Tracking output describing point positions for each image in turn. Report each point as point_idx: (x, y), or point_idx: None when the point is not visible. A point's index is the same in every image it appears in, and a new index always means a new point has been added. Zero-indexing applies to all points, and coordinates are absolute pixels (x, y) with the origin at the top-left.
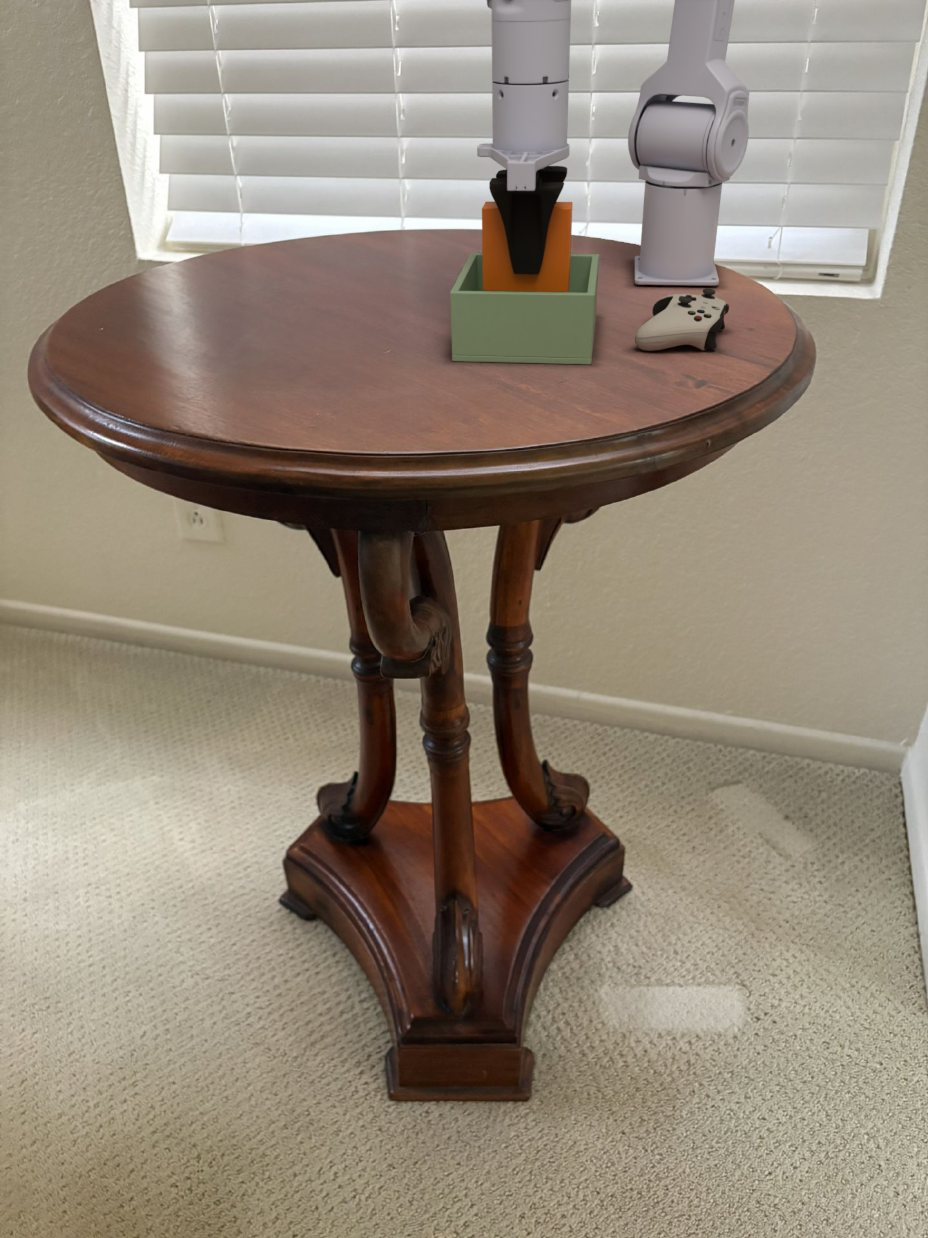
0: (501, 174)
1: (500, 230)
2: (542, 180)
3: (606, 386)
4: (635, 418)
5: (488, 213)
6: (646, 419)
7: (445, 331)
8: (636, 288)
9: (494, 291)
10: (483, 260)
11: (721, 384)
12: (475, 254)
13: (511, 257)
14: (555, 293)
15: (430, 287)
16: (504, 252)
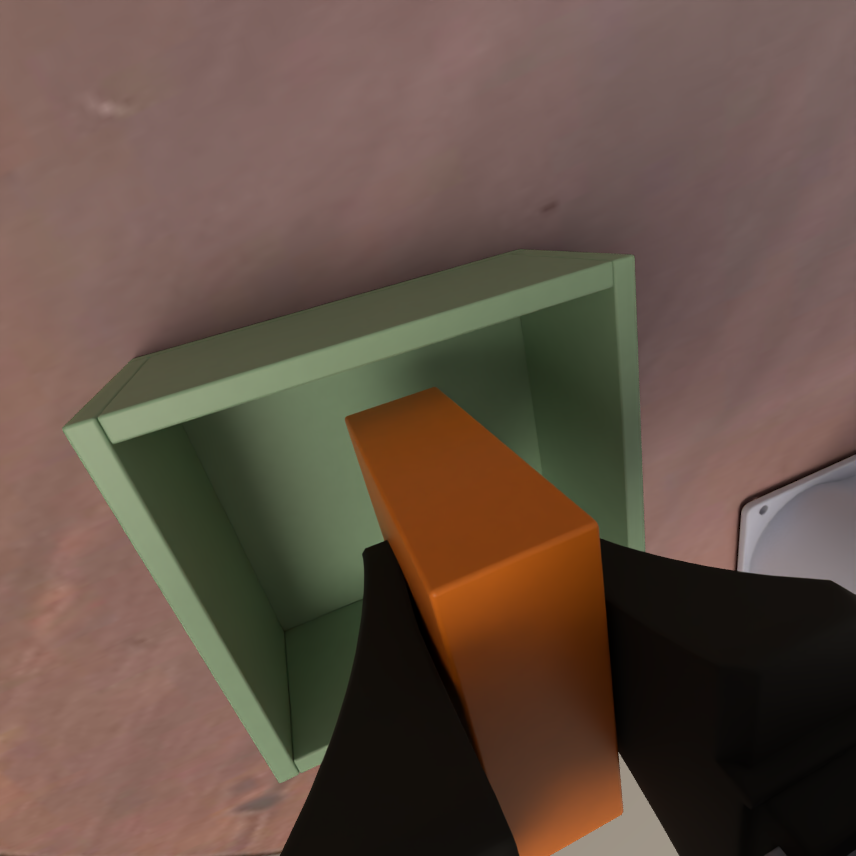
0: (753, 697)
1: (415, 592)
2: (699, 830)
3: (164, 712)
4: (19, 823)
5: (426, 603)
6: (28, 835)
7: (371, 227)
8: (729, 508)
9: (173, 564)
10: (365, 460)
11: (274, 822)
12: (614, 282)
13: (364, 581)
14: (243, 714)
15: (740, 6)
16: (394, 548)
